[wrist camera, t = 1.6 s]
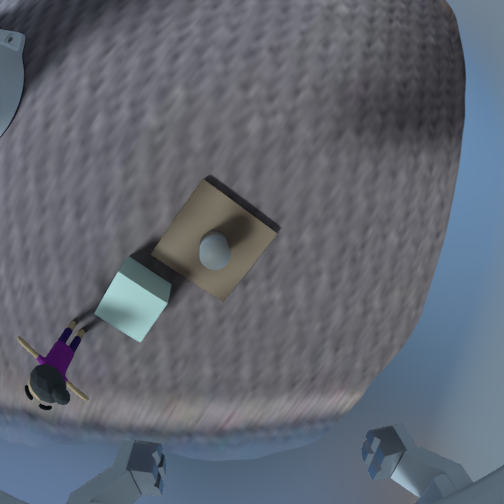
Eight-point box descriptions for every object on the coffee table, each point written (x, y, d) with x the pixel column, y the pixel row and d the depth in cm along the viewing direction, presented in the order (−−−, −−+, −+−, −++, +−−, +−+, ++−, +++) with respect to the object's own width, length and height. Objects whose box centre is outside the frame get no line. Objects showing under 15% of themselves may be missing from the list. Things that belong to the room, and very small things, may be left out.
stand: (152, 252, 34) (144, 267, 29) (203, 178, 32) (203, 182, 28) (223, 298, 37) (226, 318, 32) (275, 231, 35) (286, 243, 31)
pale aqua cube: (106, 294, 34) (94, 313, 30) (128, 256, 34) (118, 271, 29) (146, 320, 36) (140, 342, 32) (171, 284, 35) (167, 303, 31)
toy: (43, 307, 34) (-11, 374, 19) (64, 282, 33) (6, 348, 19) (98, 359, 37) (68, 440, 23) (122, 339, 37) (94, 423, 22)
